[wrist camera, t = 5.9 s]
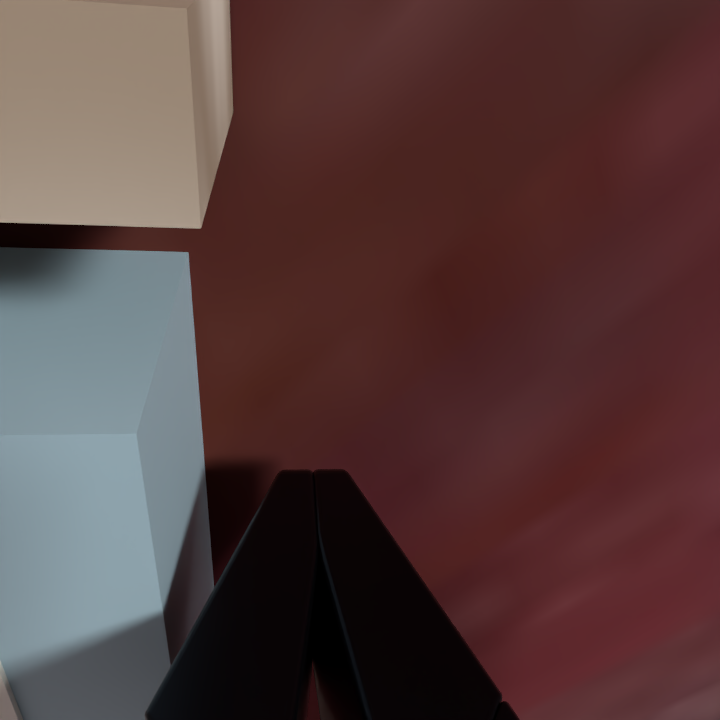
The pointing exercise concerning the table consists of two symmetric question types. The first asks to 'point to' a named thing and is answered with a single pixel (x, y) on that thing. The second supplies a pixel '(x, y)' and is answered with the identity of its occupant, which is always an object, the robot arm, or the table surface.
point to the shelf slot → (112, 110)
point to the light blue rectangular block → (97, 480)
